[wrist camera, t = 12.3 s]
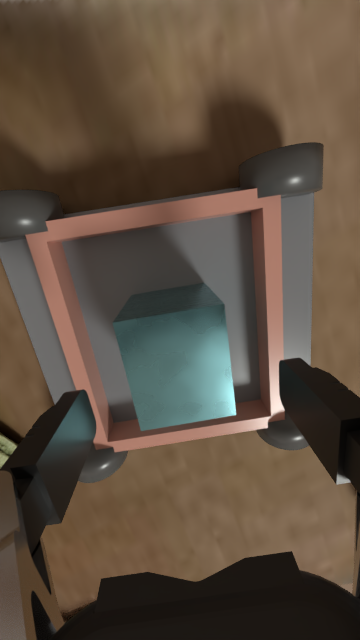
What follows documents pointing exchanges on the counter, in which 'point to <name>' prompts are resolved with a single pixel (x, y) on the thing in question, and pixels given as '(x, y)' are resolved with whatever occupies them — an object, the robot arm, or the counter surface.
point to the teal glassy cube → (176, 356)
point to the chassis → (163, 273)
